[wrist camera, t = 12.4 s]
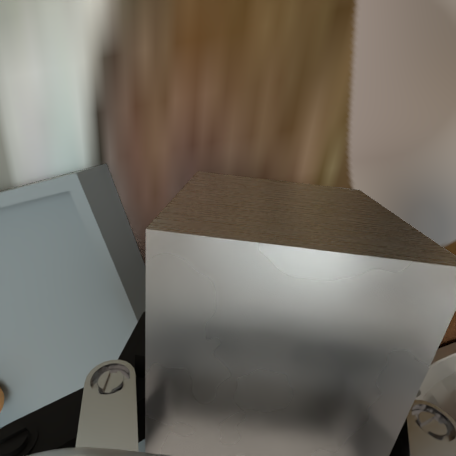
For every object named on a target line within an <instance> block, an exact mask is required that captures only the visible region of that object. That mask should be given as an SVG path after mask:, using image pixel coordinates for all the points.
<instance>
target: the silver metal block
mask: <svg viewBox="0 0 456 456" xmlns="http://www.w3.org/2000/svg"><path fill="white" fill-rule="evenodd" d="M455 310H456V256H455V255H453V254H452V253H450V252H449V251H447V250H446V249H445V248H443V247H442V246H440V245H438V244H437V243H436V242H434V241H433V240H431V239H430V238H429V237H427V236H426V235H424V234H423V233H421V232H420V231H418V230H417V229H416V228H414V227H412V226H411V225H410V224H408V223H407V222H405V221H404V220H402V219H401V218H400V217H398V216H397V215H395V214H394V213H392V212H391V211H389V210H388V209H387V208H385V207H383V206H382V205H381V204H379V203H378V202H376V201H375V200H373V199H372V198H370V197H369V196H367V195H366V194H365V193H363V192H362V191H360V190H355V189H347V188H338V187H329V186H321V185H312V184H303V183H295V182H286V181H277V180H269V179H260V178H251V177H243V176H234V175H225V174H217V173H208V172H200V171H198V172H197V173H196V174H195V175H194V176H193V178H192V179H191V180H190V181H189V182H188V183H187V184H186V185H185V186H184V187H183V189H182V190H181V191H180V192H179V193H178V194H177V195H176V196H175V197H174V198H173V200H172V201H171V202H170V203H169V204H168V205H167V206H166V207H165V208H164V209H163V211H162V212H161V213H160V214H159V215H158V216H157V217H156V218H155V219H154V220H153V222H152V223H151V224H150V225H149V226H148V227H147V228H146V313H145V452H146V453H154V454H163V455H170V456H389V455H390V453H391V451H392V448H393V446H394V444H395V442H396V440H397V437H398V435H399V433H400V431H401V429H402V426H403V424H404V422H405V420H406V418H407V415H408V413H409V411H410V409H411V407H412V404H413V402H414V400H415V398H416V396H417V393H418V391H419V389H420V387H421V385H422V382H423V380H424V378H425V376H426V374H427V372H428V369H429V367H430V365H431V363H432V361H433V358H434V356H435V354H436V352H437V350H438V347H439V345H440V343H441V341H442V339H443V336H444V334H445V332H446V330H447V328H448V325H449V323H450V321H451V319H452V317H453V314H454V312H455Z"/></svg>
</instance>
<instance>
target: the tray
mask: <svg viewBox="0 0 456 456" xmlns="http://www.w3.org/2000/svg"><path fill="white" fill-rule="evenodd" d="M145 311H146V267H145V264H144V262H143V259H142V256H141V254H140V251H139V248H138V246H137V243H136V240H135V238H134V235H133V232H132V230H131V227H130V225H129V222H128V219H127V217H126V214H125V211H124V209H123V206H122V203H121V201H120V198H119V195H118V193H117V190H116V188H115V185H114V182H113V180H112V177H111V174H110V172H109V169H108V166H107V164H103V165H99V166H95V167H91V168H88V169H84V170H80V171H76V172H72V173H68V174H65V175H61V176H57V177H53V178H49V179H45V180H42V181H38V182H34V183H30V184H26V185H22V186H19V187H15V188H11V189H7V190H3V191H0V388H1V389H2V391H3V393H4V405H3V408H2V410H1V412H0V428H2V427H4V426H5V425H7V424H9V423H11V422H13V421H15V420H17V419H19V418H21V417H23V416H25V415H27V414H29V413H31V412H34V411H36V410H38V409H40V408H42V407H44V406H46V405H48V404H50V403H52V402H54V401H56V400H58V399H61V398H63V397H65V396H67V395H69V394H71V393H73V392H75V391H77V390H79V389H81V388H83V387H84V383H85V380H86V377H87V375H88V374H89V372H90V371H91V370H92V369H93V368H94V367H96V366H97V365H99V364H101V363H103V362H105V361H109V360H118V358H119V356H120V354H121V352H122V351H123V349H124V347H125V345H126V343H127V341H128V339H129V338H130V336H131V334H132V332H133V330H134V328H135V326H136V324H137V323H138V321H139V319H140V317H141V315H142V314H143V312H145ZM138 449H139V452H145V439H144V440H142V441H141V442H139V443H138Z"/></svg>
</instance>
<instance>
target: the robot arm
mask: <svg viewBox="0 0 456 456" xmlns="http://www.w3.org/2000/svg"><path fill="white" fill-rule="evenodd" d="M145 313H146V311H145V312H143V314H142V315H141V317H140V319H139V321H138V323H137V324H136V326H135V328H134V330H133V332H132V334H131V336H130V338H129V339H128V341H127V343H126V345H125V347H124V349H123V351H122V352H121V354H120V356H119V358H118V360H109V361H105V362H103V363H101V364H99V365H97V366H96V367H94V368H93V369H92V370H91V371H90V372H89V374H88V375H87V377H86V380H85V383H84V387H83V388H81V389H79V390H77V391H75V392H73V393H71V394H69V395H67V396H65V397H63V398H61V399H58V400H56V401H54V402H52V403H50V404H48V405H46V406H44V407H42V408H40V409H38V410H36V411H34V412H31V413H29V414H27V415H25V416H23V417H21V418H19V419H17V420H15V421H13V422H11V423H9V424H7V425H5V426H4V427H2V428H0V456H170V455H163V454H154V453H146V452H139V449H138V443H139V442H141V441H142V440H144V439H145ZM389 456H456V342H455V343H452V344H450V345H447V346H444V347H442V348H439V349H438V350H437V352H436V354H435V356H434V358H433V361H432V363H431V365H430V367H429V369H428V372H427V374H426V376H425V378H424V380H423V382H422V385H421V387H420V389H419V391H418V393H417V396H416V398H415V400H414V402H413V404H412V407H411V409H410V411H409V413H408V415H407V418H406V420H405V422H404V424H403V426H402V429H401V431H400V433H399V435H398V437H397V440H396V442H395V444H394V446H393V448H392V451H391V453H390V455H389Z"/></svg>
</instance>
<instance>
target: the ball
mask: <svg viewBox="0 0 456 456" xmlns="http://www.w3.org/2000/svg"><path fill="white" fill-rule="evenodd" d="M3 405H4V393H3V391H2V389H1V388H0V412H1V410H2V408H3Z"/></svg>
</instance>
